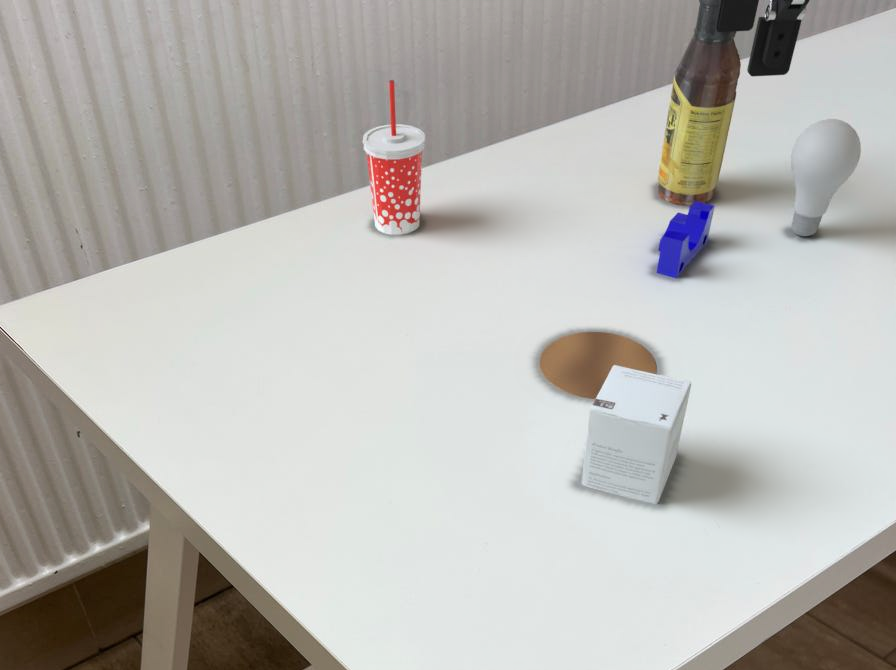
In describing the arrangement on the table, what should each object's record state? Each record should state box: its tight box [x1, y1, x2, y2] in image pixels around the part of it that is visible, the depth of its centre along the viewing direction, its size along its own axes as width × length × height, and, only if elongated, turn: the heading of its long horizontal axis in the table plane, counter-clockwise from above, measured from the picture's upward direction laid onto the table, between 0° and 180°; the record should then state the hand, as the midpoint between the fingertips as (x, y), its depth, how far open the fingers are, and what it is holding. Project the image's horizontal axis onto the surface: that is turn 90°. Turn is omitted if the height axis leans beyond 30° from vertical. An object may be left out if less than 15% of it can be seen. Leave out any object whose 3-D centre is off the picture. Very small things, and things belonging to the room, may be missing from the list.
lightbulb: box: [790, 118, 862, 237], centre depth 93 cm, size 6×6×11 cm
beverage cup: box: [362, 79, 426, 236], centre depth 96 cm, size 6×6×14 cm
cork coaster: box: [538, 331, 657, 400], centre depth 84 cm, size 10×10×1 cm
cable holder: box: [656, 201, 716, 279], centre depth 94 cm, size 8×4×4 cm, turn 148°
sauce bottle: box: [657, 0, 742, 207], centre depth 96 cm, size 6×6×20 cm
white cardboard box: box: [581, 365, 692, 505], centre depth 72 cm, size 6×6×7 cm
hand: (749, 51), depth 80 cm, fingers open, 9 cm apart
